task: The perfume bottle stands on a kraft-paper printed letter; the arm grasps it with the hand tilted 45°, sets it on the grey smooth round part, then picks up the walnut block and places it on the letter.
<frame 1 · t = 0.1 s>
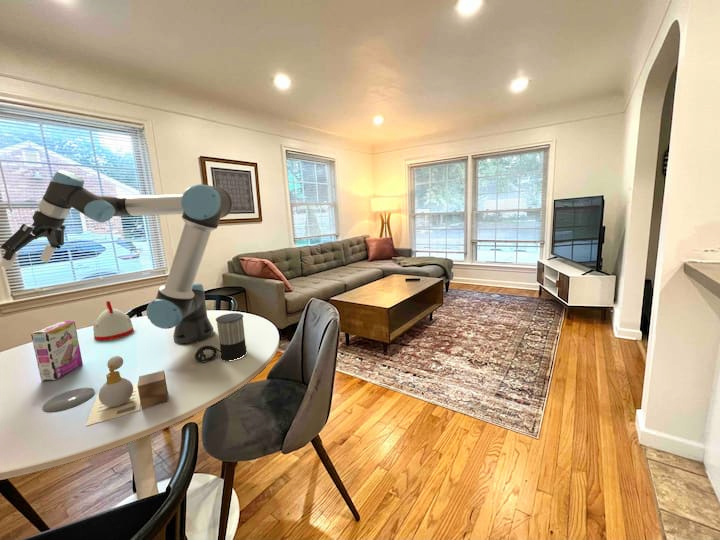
hand: (25, 263, 110), 36 cm above the table, tool tilted 35°, fingers open, 13 cm apart
walnut block: (155, 400, 87), on the table
candy bar box: (64, 372, 105), on the table
white and red dome: (114, 334, 139), on the table
perfume bottle: (117, 402, 87), resting on letter
grey smooth round part: (69, 399, 89), on the table
letter: (117, 402, 87), on the table
milk frother: (222, 357, 113), on the table
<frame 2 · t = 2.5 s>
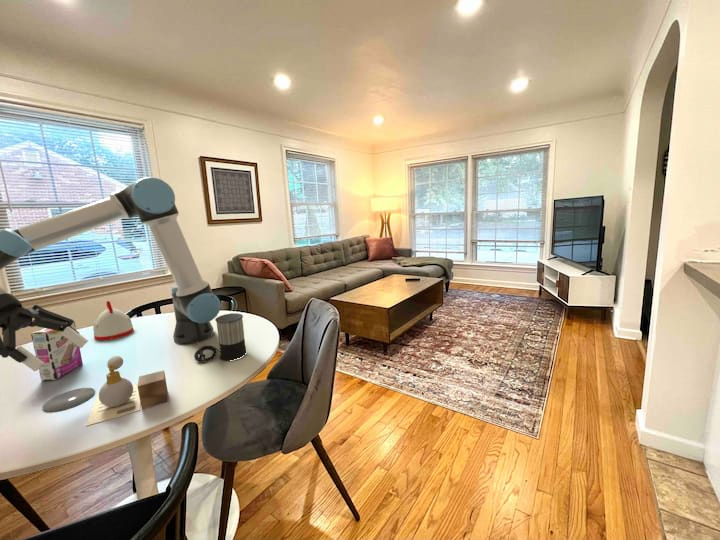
hand: (64, 354, 84), 15 cm above the table, tool tilted 45°, fingers open, 13 cm apart
nothing on the table moved.
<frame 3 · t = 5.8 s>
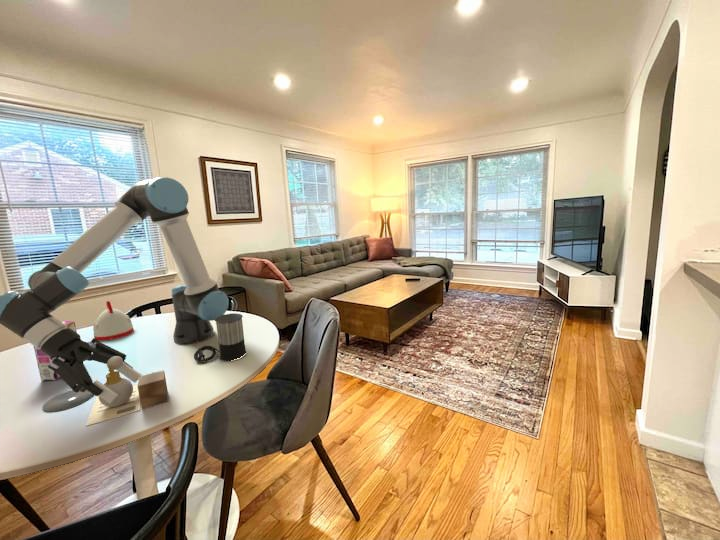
hand: (127, 388, 86), 4 cm above the table, tool tilted 45°, fingers closed on perfume bottle, 9 cm apart
perfume bottle: (117, 402, 87), resting on letter, touching gripper
everything else where it was.
when the fingers open (6 cm above the table, at t = 11.1 s): perfume bottle drops 1 cm, resting on grey smooth round part.
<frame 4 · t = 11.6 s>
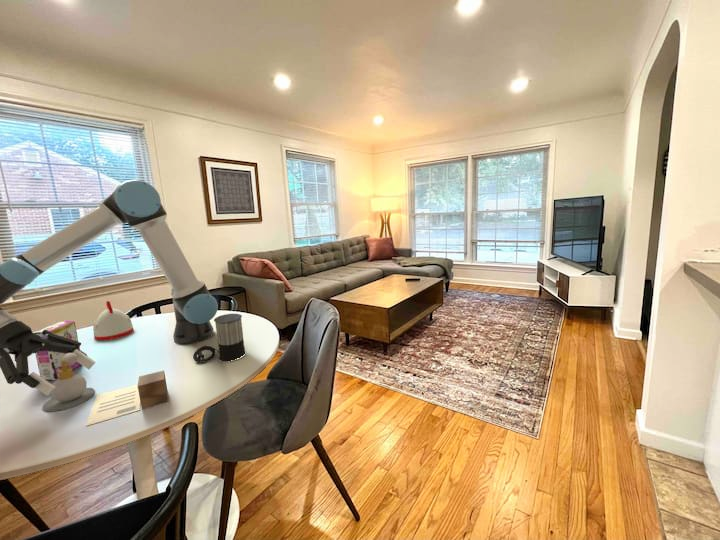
hand: (73, 377, 88), 7 cm above the table, tool tilted 45°, fingers open, 13 cm apart
perfume bottle: (70, 397, 90), resting on grey smooth round part
everything else where it was.
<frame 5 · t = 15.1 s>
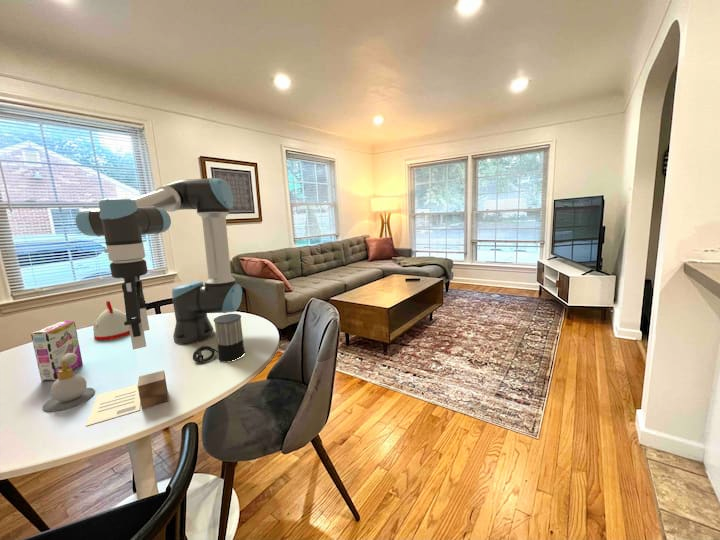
hand: (141, 338, 84), 19 cm above the table, tool pointing down, fingers open, 13 cm apart
nothing on the table moved.
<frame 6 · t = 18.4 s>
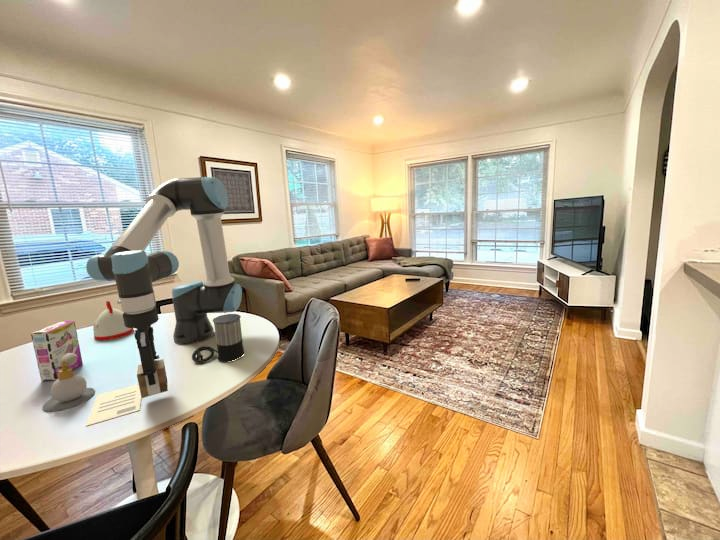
hand: (155, 387, 87), 4 cm above the table, tool pointing down, fingers closed on walnut block, 6 cm apart
walnut block: (155, 389, 87), point 3 cm above the table, touching gripper
everything else where it was.
when the fingers open (1 cm above the table, at t = 22.3 s): walnut block stays where it is, resting on letter.
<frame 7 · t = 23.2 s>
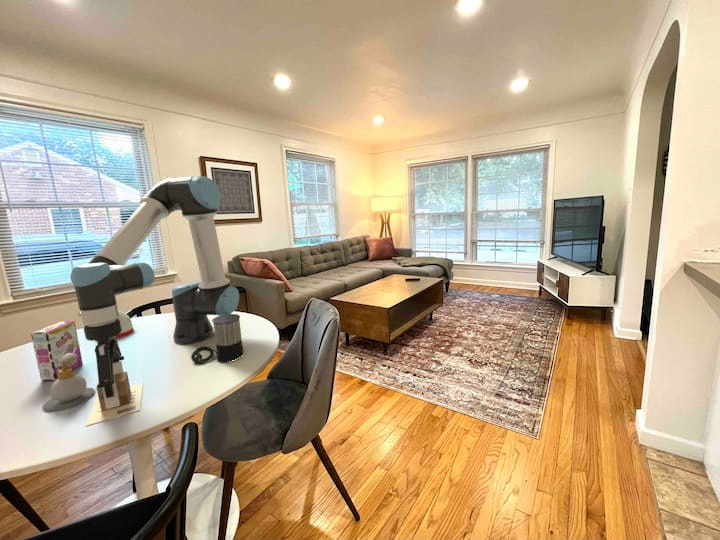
hand: (116, 394, 87), 2 cm above the table, tool pointing down, fingers open, 13 cm apart
walnut block: (117, 402, 87), resting on letter
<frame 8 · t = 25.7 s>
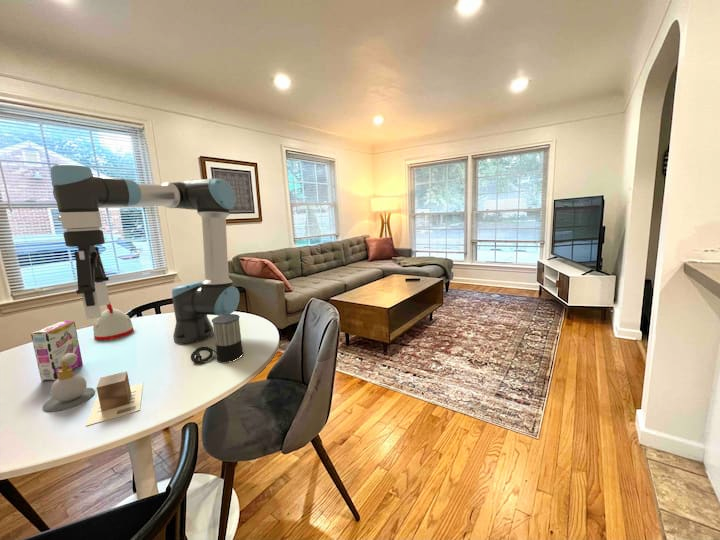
hand: (99, 311, 82), 27 cm above the table, tool pointing down, fingers open, 13 cm apart
at the end: perfume bottle 0.6 cm from the grey smooth round part (horizontally); perfume bottle tilted 0°; walnut block inside the target area on the letter (0.1 cm from its centre), point 0.2 cm above the letter's base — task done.
